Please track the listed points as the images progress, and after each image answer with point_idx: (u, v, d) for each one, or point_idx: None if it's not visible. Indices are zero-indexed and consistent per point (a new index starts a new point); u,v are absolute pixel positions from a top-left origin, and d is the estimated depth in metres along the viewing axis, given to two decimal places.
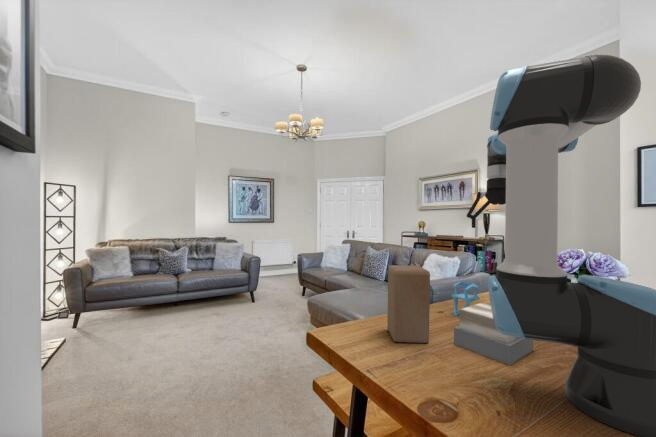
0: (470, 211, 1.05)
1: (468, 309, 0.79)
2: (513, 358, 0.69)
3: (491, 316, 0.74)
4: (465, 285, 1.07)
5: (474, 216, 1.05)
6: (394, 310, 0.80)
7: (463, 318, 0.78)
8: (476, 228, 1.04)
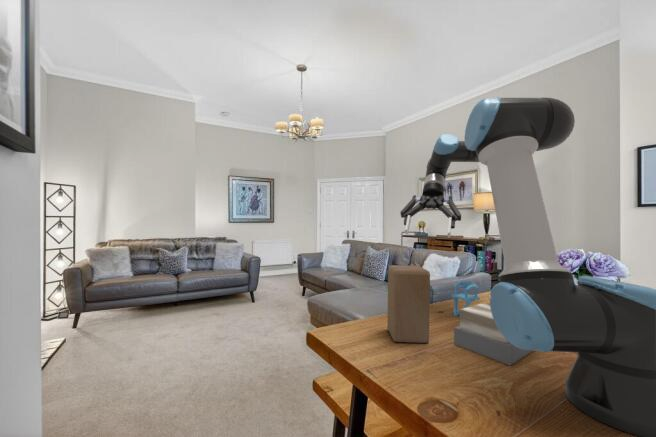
0: (404, 209, 1.06)
1: (468, 309, 0.79)
2: (513, 358, 0.69)
3: (491, 316, 0.74)
4: (465, 285, 1.07)
5: (407, 213, 1.04)
6: (394, 310, 0.80)
7: (463, 318, 0.78)
8: (407, 222, 1.01)
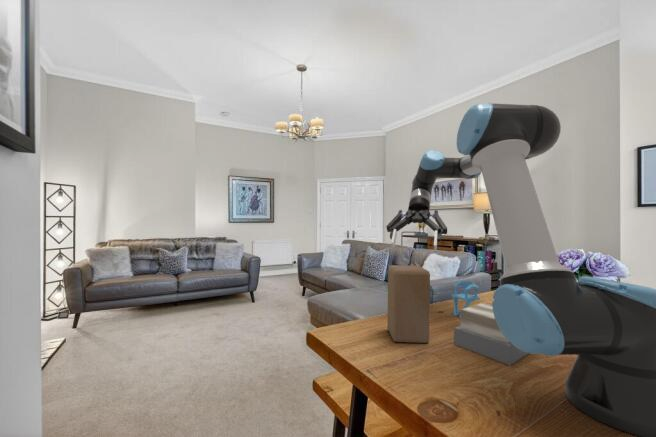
0: (390, 223, 1.04)
1: (469, 309, 0.80)
2: (513, 358, 0.69)
3: (491, 316, 0.74)
4: (465, 285, 1.07)
5: (393, 227, 1.03)
6: (394, 310, 0.80)
7: (464, 318, 0.79)
8: (393, 236, 0.99)
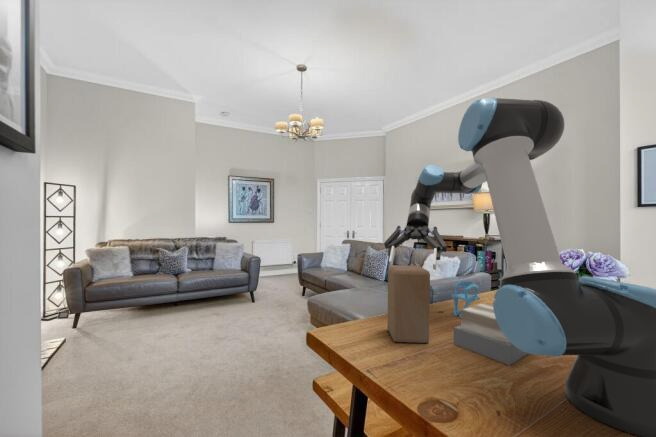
0: (388, 239, 1.02)
1: (469, 309, 0.79)
2: (512, 358, 0.69)
3: (492, 316, 0.74)
4: (465, 285, 1.07)
5: (391, 243, 1.00)
6: (394, 310, 0.80)
7: (465, 318, 0.78)
8: (391, 253, 0.97)
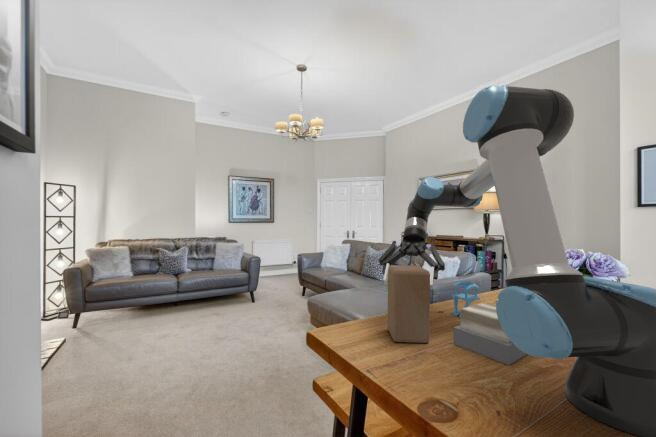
0: (383, 256, 0.96)
1: (469, 309, 0.80)
2: (512, 358, 0.69)
3: (492, 316, 0.74)
4: (465, 285, 1.07)
5: (386, 260, 0.94)
6: (394, 310, 0.80)
7: (464, 317, 0.79)
8: (386, 271, 0.91)
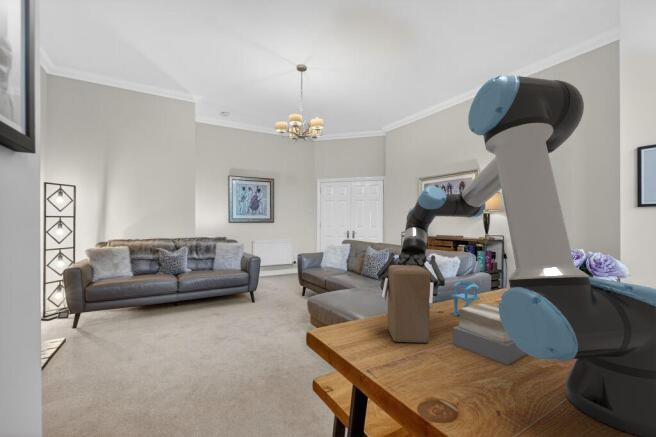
0: (381, 270, 0.91)
1: (468, 309, 0.80)
2: (511, 358, 0.69)
3: (489, 316, 0.74)
4: (465, 285, 1.07)
5: (384, 275, 0.89)
6: (394, 310, 0.80)
7: (462, 317, 0.79)
8: (384, 287, 0.86)
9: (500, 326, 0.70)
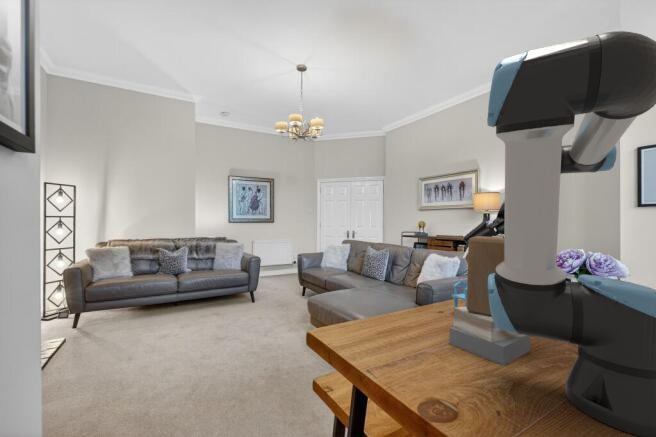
0: (469, 234, 0.88)
1: (463, 308, 0.81)
2: (507, 358, 0.69)
3: (480, 315, 0.75)
4: (465, 285, 1.07)
5: None
6: (468, 278, 0.78)
7: (456, 316, 0.80)
8: (467, 249, 0.83)
9: (488, 326, 0.71)
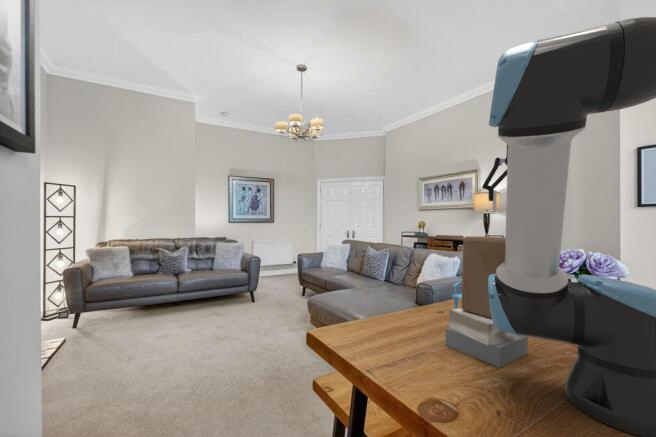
0: (487, 181, 0.88)
1: (459, 310, 0.79)
2: (503, 360, 0.68)
3: (477, 318, 0.72)
4: None
5: (492, 187, 0.88)
6: (462, 277, 0.78)
7: (452, 318, 0.78)
8: (494, 201, 0.87)
9: (485, 329, 0.69)
